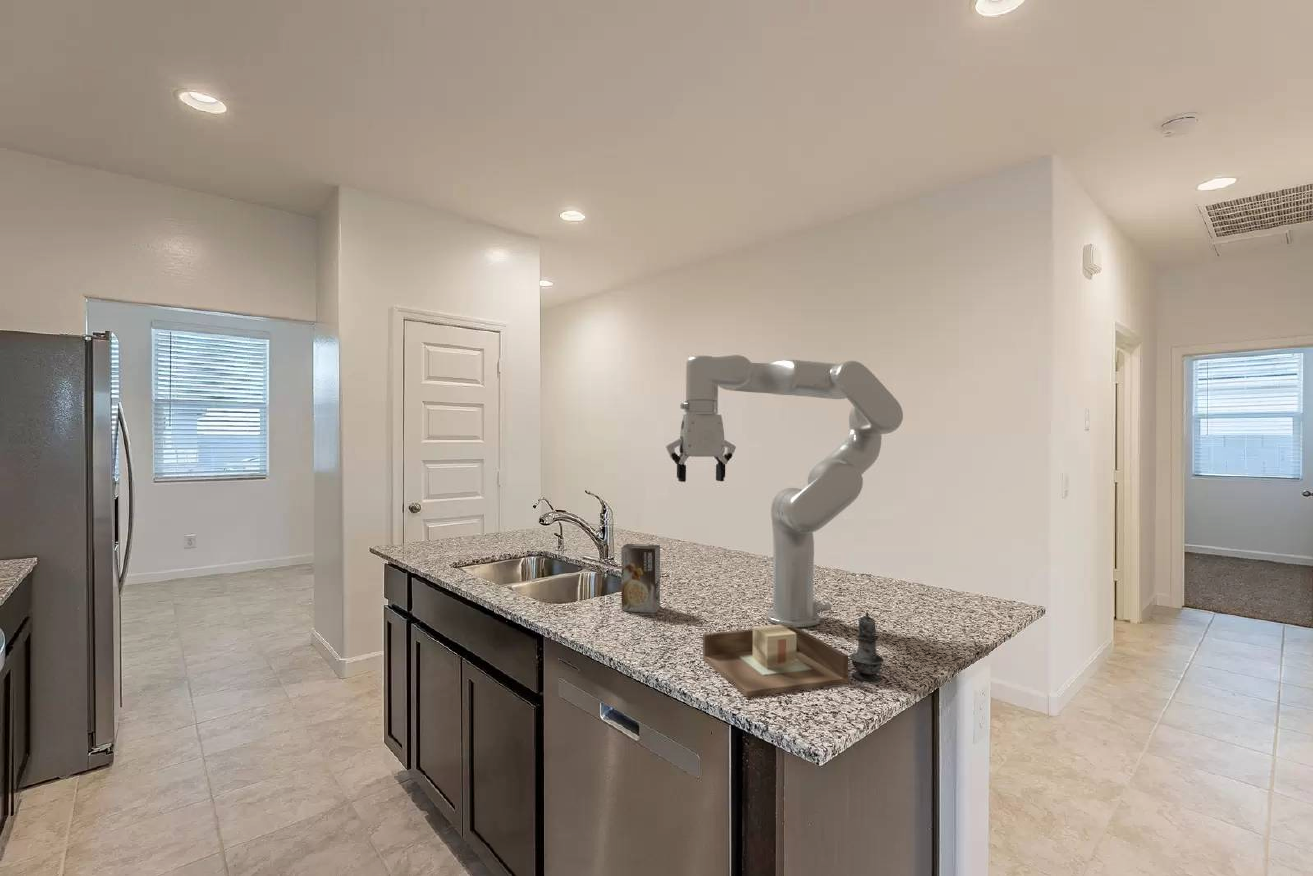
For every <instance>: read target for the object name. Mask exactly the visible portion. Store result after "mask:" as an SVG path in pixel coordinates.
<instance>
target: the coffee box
mask: <svg viewBox="0 0 1313 876" xmlns="http://www.w3.org/2000/svg"><path fill="white" fill-rule="evenodd" d="M620 551H621V552H620V554H621V555H620V559H621V560H620V562H621V564H620V565H621V566H620V569H621V571H620V572H621V575H620V576H621V577H620V578H621V579H620V580H621V583H620V584H621V587H620V588H621V590H620V592H621V593H620V594H621V600H620V601H621V605H620V606H621V612H636V613H652V614H657V612H658V611H659V609H661V545H660V544H644V543H643V544H641V543H638V544H637V543H627V544H624V545H623V546H622V547H621V550H620Z"/></svg>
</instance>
